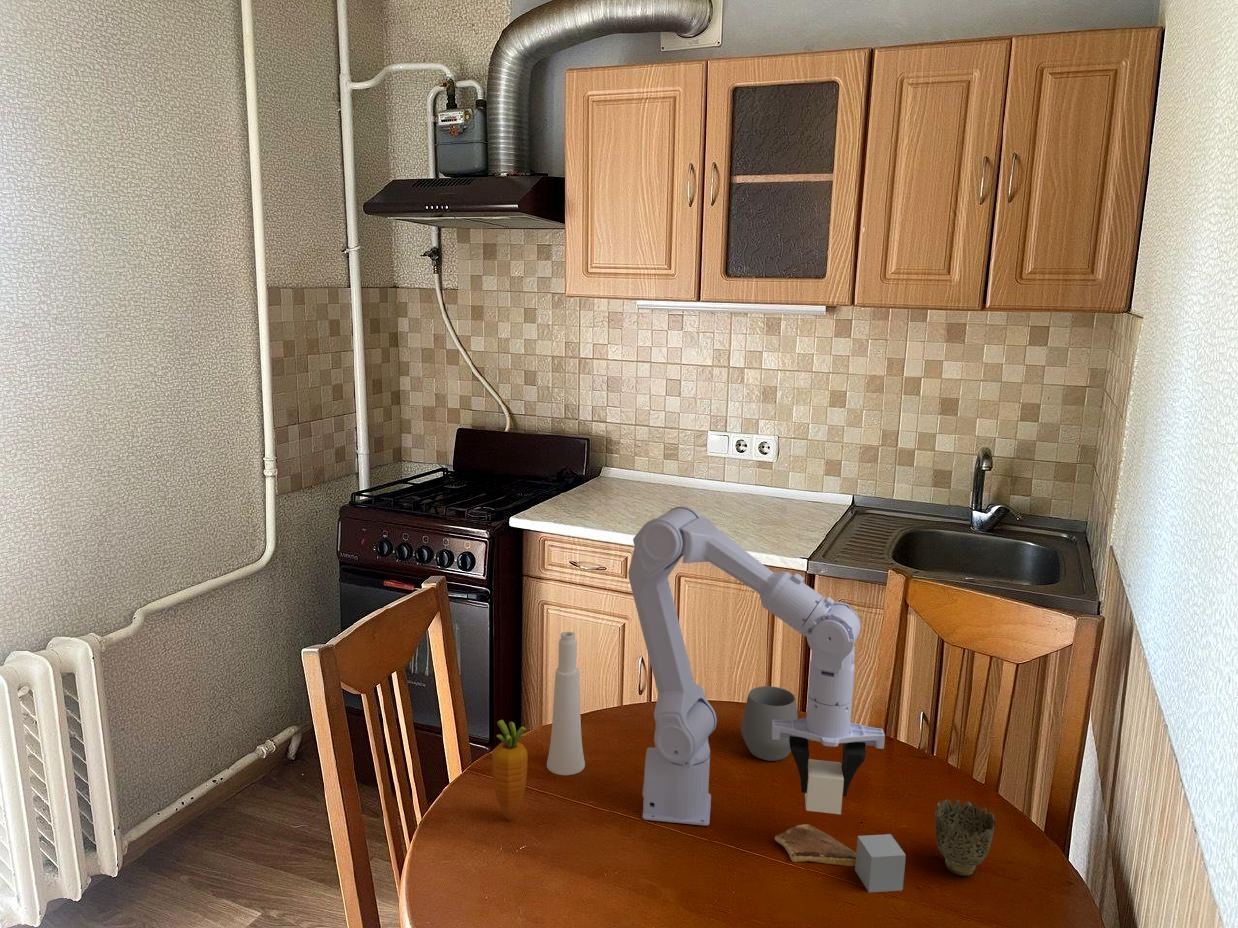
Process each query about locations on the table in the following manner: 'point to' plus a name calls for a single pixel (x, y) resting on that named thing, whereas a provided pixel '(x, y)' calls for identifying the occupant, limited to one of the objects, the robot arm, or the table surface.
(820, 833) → the shard
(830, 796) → the cream block
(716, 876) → the table surface
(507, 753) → the carrot
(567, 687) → the cosmetic bottle
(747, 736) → the cup
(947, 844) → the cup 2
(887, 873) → the slate block
